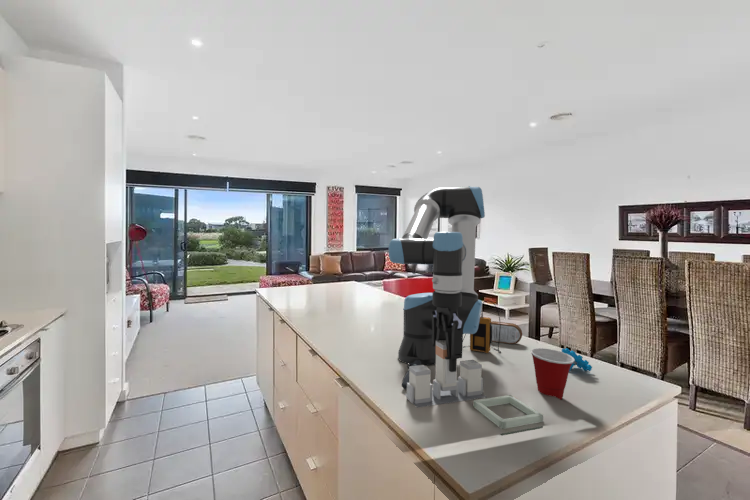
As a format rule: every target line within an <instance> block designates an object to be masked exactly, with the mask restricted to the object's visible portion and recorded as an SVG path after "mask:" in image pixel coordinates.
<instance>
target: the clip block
mask: <svg viewBox="0 0 750 500" xmlns="http://www.w3.org/2000/svg"><path fill="white" fill-rule="evenodd" d="M456 385H457V389H456V390H449V391H442V390H441V384H440V383H439V382H438V381H437V380H435V379H433V380H432V383H431V382H430V402H424V403H417V404H415V403H414V387H413V386H412V385H411V384H410V383H407V388H406V393H404V395H405V397H406V399H407V400H408V401H409V402H410V403H411V404H413V405H414V407H416V408H423V407H424V408H425V407H431V406H437V405H444V404H450V403H451V404H452V403H458V402H464V401H465V402H466V401H473V400H480V399H487V398H488V397H487V396H486V395H484V394H483V393H484V378H483V377H482V376H481V394H480V395H473V396H467V395H466V380H465V379H463V378H462V377H460V375H459V376H457V384H456Z"/></svg>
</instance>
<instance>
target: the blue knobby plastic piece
mask: <svg viewBox="0 0 750 500" xmlns="http://www.w3.org/2000/svg"><path fill="white" fill-rule="evenodd" d="M561 352H563V353H566V354H568V355H570V356H572V357H573V358H574V359H575V361H574V362H573V363H572V365H571V367H570V370H569V372H570V371H571V370H572V369H573V367H574V366H576V367H577V368H578V369H583V371H585V372H587V371H588V372H591V371H592V370H593V369H592V368H593V366H592V365H591V364H589V363H590V361H588V360H587V359H584V360H583V356H582V355H580V354H577V353H576V351H574V350H570V349H569V348H567V347H566V348H564V347H563V348H562V349H561Z"/></svg>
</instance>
